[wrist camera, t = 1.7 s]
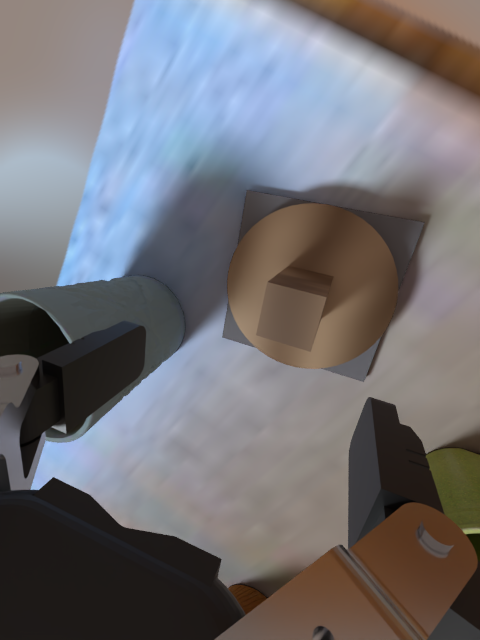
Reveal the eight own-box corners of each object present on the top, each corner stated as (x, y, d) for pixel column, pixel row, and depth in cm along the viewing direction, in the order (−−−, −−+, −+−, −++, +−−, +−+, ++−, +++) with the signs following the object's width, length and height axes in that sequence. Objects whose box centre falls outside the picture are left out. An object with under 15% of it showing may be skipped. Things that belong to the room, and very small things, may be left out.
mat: (422, 222, 20) (424, 222, 20) (363, 378, 25) (363, 381, 24) (249, 190, 23) (246, 190, 22) (224, 334, 28) (222, 337, 27)
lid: (424, 222, 20) (459, 226, 13) (363, 381, 24) (367, 443, 18) (247, 190, 23) (204, 180, 16) (222, 337, 27) (180, 375, 21)
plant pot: (368, 450, 26) (374, 548, 19) (490, 409, 22) (563, 513, 14) (427, 534, 27) (457, 663, 19) (557, 510, 23) (662, 662, 15)
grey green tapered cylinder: (169, 382, 31) (73, 470, 21) (91, 329, 33) (-36, 386, 22) (208, 301, 27) (112, 357, 16) (117, 243, 28) (-27, 261, 18)
